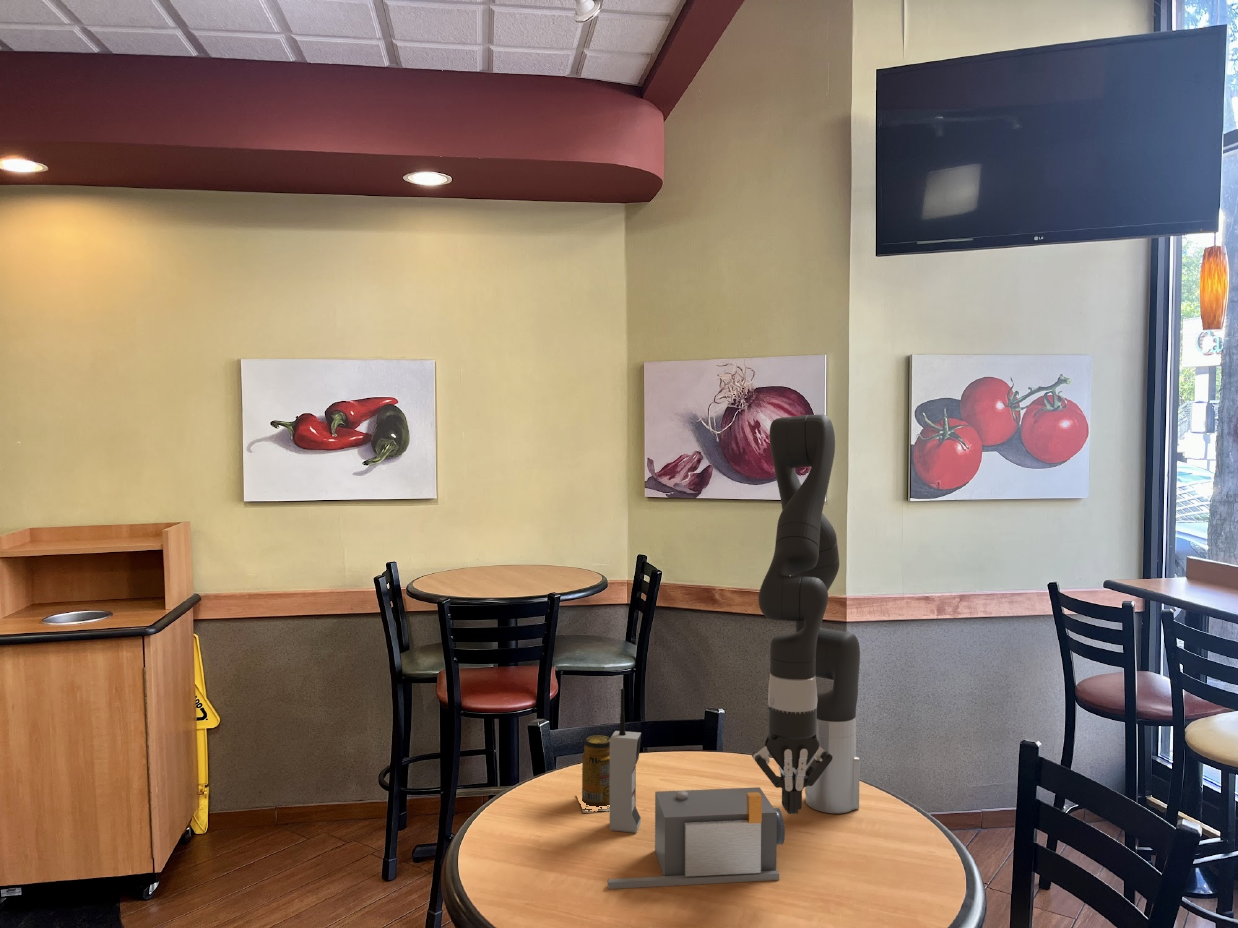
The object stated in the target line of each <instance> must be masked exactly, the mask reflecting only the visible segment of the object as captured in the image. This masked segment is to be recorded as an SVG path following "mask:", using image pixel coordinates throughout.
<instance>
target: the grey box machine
mask: <svg viewBox="0 0 1238 928" xmlns="http://www.w3.org/2000/svg"><path fill="white" fill-rule="evenodd" d="M752 792H759V793H760V794H761V796H762V823H761V873H746V874H727V875H707V876H688V877H685V874H684V823H690V822H712V821H734V820H747V819H746V816H747V793H752ZM654 795H655V798H654V833H655V834H654V852H655V854H656V855H655V856H656V858H657V861H658V864H659V866H660V870H661V874H662V876H647V877H646V876H645V877H627V878H611V879H610V878H608V879H607V889H608V890H615V889H633V888H634V889H635V888H636V889H637V888H653V887H655V888H656V887H672V886H673V887H674V886H688V885H689V886H690V885H707V884H708V885H709V884H710V885H711V884H725V883H727V884H729V883H745V882H746V883H748V882H764V881H765V882H766V881H780V872H779V870H777V848H778V847H777V846H781V845H782V846H783V844H784V842H785V835H786V834H785V832H786V831H785V821H784V817H783V813H782V811H781V809H780V808H779V807H774V806H773V805H772V804H771V802H770V800H769V799H768V797H767V796H766V795H765V793H764V792H763V790H762V788H761V787H760V786H759V787H736V788H712V789H711V788H710V789H688V790H687V789H686V790H685V789H684V790H663V791H661V790H659V791H655V793H654Z"/></svg>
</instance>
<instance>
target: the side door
mask: <svg viewBox="0 0 1238 928" xmlns="http://www.w3.org/2000/svg"><path fill="white" fill-rule="evenodd" d="M746 819H747V820H734V821H712V822H690V823H684V874H685V877H688V876H707V875H727V874H746V873H761V823H762V796H761V794H760V793H759V792H752V793H747V816H746Z"/></svg>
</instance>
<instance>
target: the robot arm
mask: <svg viewBox="0 0 1238 928" xmlns="http://www.w3.org/2000/svg"><path fill="white" fill-rule="evenodd" d="M835 435H836V434H835V428H834V426H833V423H832V420H831V419H830V417H829V416H827V415H825V414H806V415H805V414H804V415H795V416H784V417H778V418H775V419H774V420H772V422H771V424H770V426H769V447H770V452H771V453H770V454H771V458H772V464H773V468H774V474H775V478H776V484H777V487H778V488H777V489H778V493H779V497H780V502H781V503H780V504H781V509H782V510H781V512H780V515H779V517H778V520H777V527H776V536H775V546H774V553H773V557H772V560H771V562H770V565H769V568H768V570H767V572H766V575H765V576H764V579H763V580H762V583H761V585H760V588H759V592H758V607H759V609H760V612H761V613H762V614H763V616H764V617H765V618H767V619H768V620H773V621H785V622H795V632H792V633H785V634H784V633H783V634H778V635H776V636H774V637H773V638H771V642H770V646H769V647H770V648H769V649H770V650H769V655H770V658H769V660H770V661H769V663H770V664H769V668H770V669H769V680H768V687H767V688H768V691H767V692H768V693H767V696H768V697H767V704H768V705H767V737H766V738H765V741H764V747H762V748H761V749H760V750H759V751H753V752H752V753H751V757H752V759H753V760H754V762H755V763H756V765H758V767H759V768H760V769H761V770H762V772H763V773H764V775H765V776H766V777H767V778H768V780H769V781H770V783H772V785H773V786H774V787H775V788H776V789H777V788H778V789H781V805H782V807H783V809H784V810H785V811H786V812H787V814H788V815H795V814H796V815H798V814H799V811H800V810H802V806H803V790H805V791H804V793H805V804H806V805H807V806H808V807H809V808H811V809H813V810H815V811H818V812H822V813H825V814H826V813H827V814H845V813H849V812H851V811H854V810H860V764H861V763H860V760H861V759H860V757H858V756H857V755H856V754H857V753H856V752H857V751H856V749H857V748H856V747H857V746H856V745H857V744H856V739H857V738H856V733H857V722H856V721H857V704H858V698H859V695H858V694H859V676H860V663H861V650H860V649H861V648H860V641H859V639H858V638H857V636H856V635H855V634H854V633H852V632H850V631H842V630H836V629H829V628H822V626H821V625H822V623H823V620H824V617H825V614H826V611H827V607H828V601H829V592H828V591H829V590H830V588H831V587H832V585H833V584H834V581H835V579H836V577H837V575H838V572H839V569H840V555H839V548H838V539H837V538H838V537H837V533H836V531H835V528H834V526H833V524H832V523H831V522H830V521H829V519H828V518H827V517H826V515H824V513H823V509H824V506H825V505H824V504H825V501H826V497H827V493H828V490H829V489H828V488H829V484H830V481H831V480H830V478H831V473H832V470H833V464H834V459H835V452H836V451H835V450H836V436H835ZM797 468H800V469H801V468H809V469H810V470H809V472H808V474H807V476H806V477H805V479H804V481H803V482H802V483H801V482H800V479H799V477H798V473H797V471H796V469H797ZM816 678H821V679H827V680H833V685H832V689H830V690H827V691H822V692H818V687H817V681H816V680H817V679H816ZM769 755H770V756H771V757H772V758H773V760H774V761H775V763H776V764H777V765H778V770H779V776H778V775H777V774H776V773H775V772H774V771H773V769H772V768H771V767H770V766H769V763H770V761H771V760H770V757H769Z"/></svg>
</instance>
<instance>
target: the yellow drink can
mask: <svg viewBox="0 0 1238 928" xmlns="http://www.w3.org/2000/svg"><path fill="white" fill-rule="evenodd" d="M610 738H611V737H609V736H606V735H601V734H599V735H590V736H588V737H586V738H585V739H584V747H583V749H584V751H583V753H582V755H581V756H582V759H581V762H582V763H581V765H582V766H581V770H582V771H581V772H582V773H581V777H582V778H581V780H582V781H581V783H582V784H581V787H582V788H581V794H582V801H583V802H584V803H586V805H589V806H596V807H599V806H607V805H610ZM580 805H581V804H579V806H580ZM608 807H609V806H608ZM608 807H607V809H602V807H600V808H601V809H598V811H607V812H610V807H609V808H608ZM581 810H582V813H588V814H589V813H591V814H592V813H598V812H597V811H595V812H592V811H590V810H592V809H586V808H585V809H581ZM585 810H588V811H589V812H587V811H585Z"/></svg>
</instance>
